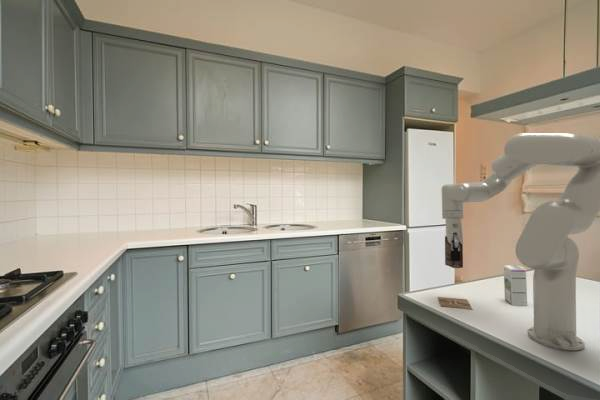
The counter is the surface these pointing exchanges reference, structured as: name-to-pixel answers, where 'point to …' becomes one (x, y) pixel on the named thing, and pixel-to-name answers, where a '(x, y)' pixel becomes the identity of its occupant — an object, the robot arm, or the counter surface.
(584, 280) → the counter surface
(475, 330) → the counter surface
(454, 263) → the box
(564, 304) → the robot arm
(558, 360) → the counter surface
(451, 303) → the brown board
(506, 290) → the syrup box
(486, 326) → the counter surface
